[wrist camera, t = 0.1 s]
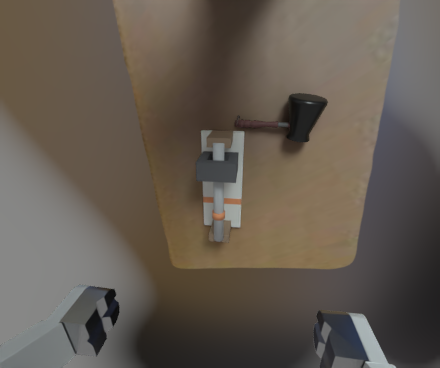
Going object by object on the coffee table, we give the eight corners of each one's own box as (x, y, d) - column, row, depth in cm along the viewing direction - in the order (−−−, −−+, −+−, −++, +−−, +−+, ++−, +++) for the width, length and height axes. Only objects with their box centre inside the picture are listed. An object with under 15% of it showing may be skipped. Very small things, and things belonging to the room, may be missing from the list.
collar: (203, 151, 52) (195, 162, 45) (238, 152, 52) (236, 164, 44) (204, 167, 54) (196, 181, 47) (238, 169, 53) (235, 183, 46)
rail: (202, 129, 55) (192, 139, 46) (244, 131, 53) (242, 140, 45) (204, 222, 65) (197, 244, 57) (240, 225, 64) (238, 247, 55)
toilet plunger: (326, 95, 48) (314, 134, 53) (242, 85, 51) (237, 122, 56) (330, 104, 42) (316, 147, 47) (234, 91, 45) (230, 133, 50)
